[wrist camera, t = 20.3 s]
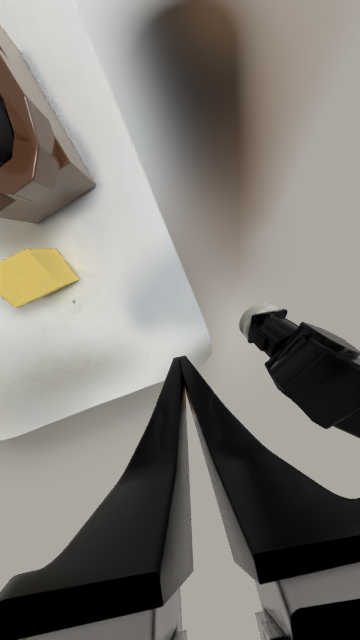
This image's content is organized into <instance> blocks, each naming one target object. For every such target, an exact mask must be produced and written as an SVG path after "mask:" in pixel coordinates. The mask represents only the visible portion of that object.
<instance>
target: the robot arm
mask: <svg viewBox="0 0 360 640" xmlns="http://www.w3.org/2000/svg"><path fill="white" fill-rule="evenodd" d="M286 315H287V310H285V309H281V310H276V311H270V312H264V313H259V314H254V315H252V317H251V322H250V327H249V333H248V342H249V343H254V344H255V345H256V346H257V347H258V348H259V349H260V350H261V351H264V352H265V353H266V354H267V355H268V356H269V357H270V359H269V361H268V362H266V363H265V366H266V368H267V370H268V372H269V374H270V376H271V378H272V379H273V381H274V383H275V385H276V386H277V388H278V389H279V390H280V391H281V392H282V393H283V394H284V395H286V396H287V397H289V398H290V399H292V401H293V402H295V403H296V404H297V405H298V406H299V407H300V408H301V409H302V410H303V411H304V413H305V414H306V415H307V416H308V417H309V418H310V419H311V420H312V421H313V422H315V423H316V424H318V425H320V426H321V427H323V428H325V429H328V428H330V427H332V426H334V427H336V428H338V429H340V430H343V431H345V432H347V433H349V434H352V435H354V436H356V437H358V438H360V357H359V356H360V351H359V350H357V349H356V348H355V347H353V346H352V345H350V344H349V343H348V342H346V341H345V340H344V339H342V338H340V337H338V336H336V335H334V334H332V333H330V332H328V331H326V330H324V329H321V328H319V327H316V326H313V325H310V324H307V323H304V322H301V324H300V326H298V325H296V324H294V323H293V322H291V321H289V320H288V319H286ZM254 317H255V318H254ZM185 390H186V394H187V397H188V400H189V404H190V408H191V411H192V415H193V418H194V422H195V425H196V428H197V432H198V436H199V439H200V443H201V446H202V450H203V453H204V456H205V460H206V464H207V467H208V471H209V474H210V477H211V481H212V485H213V488H214V492H215V495H216V499H217V502H218V506H219V509H220V513H221V516H222V520H223V523H224V527H225V531H226V534H227V537H228V541H229V545H230V548H231V551H232V555H233V559H234V561H235V563H237V564H238V565H239V566H240V567H241V568H242V569H244V571H246V572H247V573H248V574H249V575H250V576H252V578H253V579H254V580H255V583H256V587H257V590H258V594H259V598H260V601H261V605H262V609H263V611H262V612H258V613H255V615H256V619H257V623H258V627H259V631H260V635H261V639H262V640H360V498H357V499H348V498H344V497H341V496H339V495H336V494H334V493H332V492H331V491H329V490H327V489H326V488H324V487H322V486H321V485H319V484H318V483H317V482H315V481H314V480H312V479H310V478H309V477H308V476H306V475H305V474H303V473H302V472H300V471H299V470H297V469H296V468H294V467H293V466H291V465H290V464H288V463H287V462H285V461H284V460H282V459H281V458H279V457H278V456H277V455H275V454H274V453H272V452H271V451H269V450H268V449H267V448H266V447H265V446H263V445H262V444H261V443H260V442H259V441H258V440H257V439H256V438H255V437H254V436H253V435H252V434H251V433H250V432H249V431H248V430H247V429H246V428H245V427H244V426H243V425H242V424H241V423H240V422H239V420H238V419H236V417H235V416H234V415H233V414H232V413H231V412H230V411H229V410H228V409H227V408H226V407H225V405H224V404H223V403H222V402H221V400H220V399H219V398H218V397H217V395H216V394H215V393H214V392H213V390H212V389H211V388H210V387H209V385H208V384H207V383H206V381H205V380H204V379H203V378H202V376H201V375H200V374H199V372H198V371H197V370H196V369H195V367H194V366H193V365H192V363H191V362H190V361H189V360H188V358H187V357H186V356H181V357H176V358H174V359H173V361H172V364H171V367H170V369H169V372H168V374H167V377H166V380H165V382H164V385H163V388H162V390H161V393H160V395H159V398H158V401H157V403H156V406H155V408H154V411H153V414H152V417H151V419H150V421H149V423H148V425H147V427H146V430H145V432H144V434H143V436H142V438H141V440H140V442H139V444H138V446H137V448H136V450H135V452H134V454H133V456H132V458H131V460H130V462H129V464H128V466H127V468H126V470H125V472H124V473H123V475H122V476H121V478H120V479H119V481H118V482H117V484H116V485H115V486H114V488H113V489H112V490H111V492H110V493H109V494H108V495H107V497H106V498H105V499H104V500H103V502H102V503H101V504H100V505H99V507H98V508H97V509H96V511H95V512H94V513H93V514H92V516H91V517H90V518H89V520H88V521H87V522H86V523H85V524H84V526H83V527H82V528H81V529H80V531H79V532H78V533H77V535H76V536H75V537H74V538H73V540H72V541H71V542H70V543H69V545H68V546H67V547H66V548H65V549H64V550H63V552H62V553H61V554H60V555H59V556H58V557H57V558H56V559H54V560H53V561H52V562H51V563H50V564H48V565H47V566H45V567H44V568H42V569H39V570H36V571H31V572H27V573H22V574H19V575H16V576H14V577H12V578H11V579H10V580H9V582H8V583H7V584H6V586H5V587H4V588H3V590H2V591H1V592H0V640H187V632H186V630H184V631H182V617H181V597H180V586H181V585H182V584H183V582H184V581H185V580H186V579H187V578H188V577H189V575H190V574H191V573H192V572H193V552H192V529H191V508H190V485H189V464H188V440H187V419H186V396H185Z"/></svg>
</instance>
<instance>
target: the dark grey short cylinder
mask: <svg viewBox="0 0 360 640" xmlns="http://www.w3.org/2000/svg"><path fill="white" fill-rule="evenodd" d="M12 149H13V134H12V128H11V125H10V121H9V119H8V116H7V114H6V112H5V109H4V107H3V105H2V104H1V102H0V163H2V162H4V161H6V160H7V159H8V158H9V156H10V155H11V152H12Z"/></svg>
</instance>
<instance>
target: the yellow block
mask: <svg viewBox="0 0 360 640" xmlns="http://www.w3.org/2000/svg"><path fill="white" fill-rule="evenodd" d="M77 280H79V278H78V277H77V275H76V274H75V273H74V272H73V270H72V269H71V268H70V267H69V265H68V264H67V263H66V262H65V260H64V259H63V258H62V257H61V255H60V254H59V253H58V251H57V250H56V249H55V248H50V249H24V250H22V251H21V252H19V253H17V254H15V255H13V256H11V257H9V258H7V259H5V260H3V261H1V262H0V295H1V296H2V297H3V298H4V299H5V300H6V301H8V302H9V303H10V304H11V305H12V306H14V307H15V308H18V307H20V306H23V305H25V304H27V303H30V302H32V301H34V300H37V299H39V298H41V297H44V296H46V295H48V294H50V293H52V292H54V291H56V290H59V289H61V288H63V287H65V286H67V285H69V284H71V283H73V282H75V281H77Z"/></svg>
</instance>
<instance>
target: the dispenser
mask: <svg viewBox="0 0 360 640" xmlns="http://www.w3.org/2000/svg"><path fill="white" fill-rule="evenodd" d="M0 102H1V104H2V105H3V107H4V109H5V112H6V114H7V116H8V119H9V121H10V125H11V128H12V134H13V149H12V152H11V155H10V156H9V158H8V159H7V160H6V161H4V162H2V163H0V218H6V219H11V220H17V221H23V222H29V223H35V224H37V223H39V222H40V221H42V220H44V219H45V218H47V217H48V216H50V215H51V214H53V213H54V212H56V211H57V210H59V209H60V208H62V207H64V206H65V205H67V204H68V203H70V202H71V201H73V200H74V199H76V198H77V197H79V196H80V195H82V194H84V193H85V192H87V191H88V190H90V189H91V188H93V187H94V186H96V184H95V182H94V180H93V178H92V177H91V175H90V173H89V171H88V170H87V168H86V166H85V164H84V163H83V161H82V159H81V158H80V156H79V154H78V152H77V151H76V149H75V147H74V145H73V144H72V142H71V140H70V138H69V137H68V135H67V133H66V131H65V130H64V128H63V126H62V124H61V123H60V121H59V119H58V117H57V116H56V114H55V112H54V110H53V109H52V107H51V105H50V104H49V102H48V100H47V98H46V97H45V95H44V93H43V91H42V90H41V88H40V86H39V84H38V83H37V81H36V79H35V77H34V76H33V74H32V72H31V70H30V69H29V67H28V65H27V63H26V62H25V60H24V58H23V56H22V55H21V53H20V51H19V50H18V48H17V47H16V46H15V44H14V43H13V41H12V40H11V39H10V37H9V36H8V35H7V33H6V32H5V31H4V29H3V28H2V27H1V25H0Z"/></svg>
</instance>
